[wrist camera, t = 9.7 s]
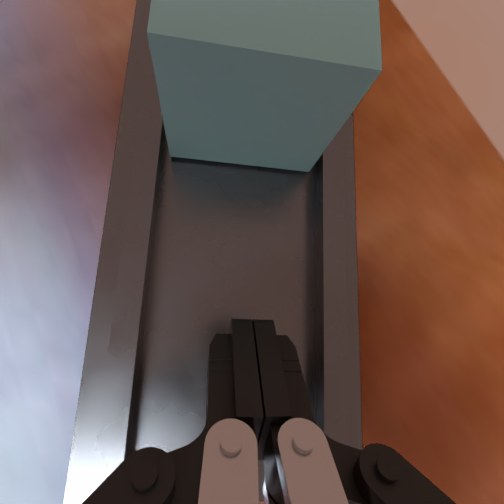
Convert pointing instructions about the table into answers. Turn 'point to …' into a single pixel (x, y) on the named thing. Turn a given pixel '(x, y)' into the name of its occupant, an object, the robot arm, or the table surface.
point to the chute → (210, 284)
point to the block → (261, 75)
